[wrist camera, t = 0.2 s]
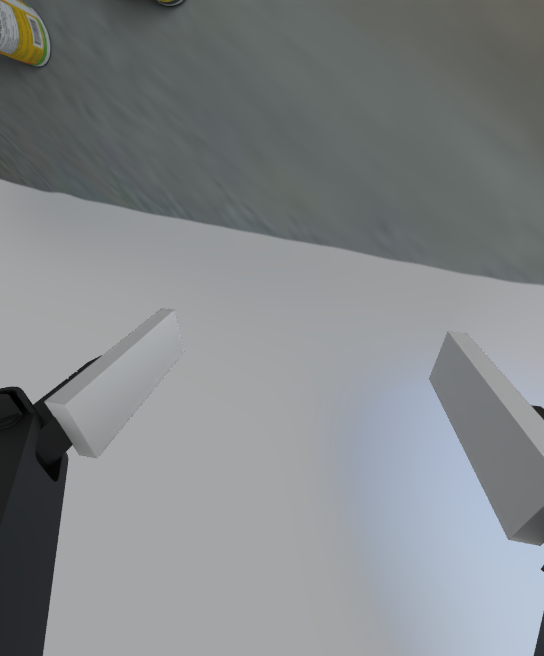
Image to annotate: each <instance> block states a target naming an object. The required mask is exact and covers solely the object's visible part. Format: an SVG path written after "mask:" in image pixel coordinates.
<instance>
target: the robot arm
mask: <svg viewBox="0 0 544 656" xmlns="http://www.w3.org/2000/svg"><path fill="white" fill-rule="evenodd" d="M183 353H184V348H183V344H182V340H181V336H180V331H179V326H178V322H177V318H176V314H175V310H172V309H160V310H159V311H158V312H157V313H155V314H154V315H153V316H151V317H150V318H149V319H148V320H146V321H145V322H144V323H143V324H142V325H140V326H139V327H138V328H136V329H135V330H134V331H133V332H131V333H130V334H129V335H128V336H126V337H125V338H124V339H123V340H121V341H120V342H119V343H118V344H116V345H115V346H114V347H112V348H111V349H110V350H109V351H108V352H106V353H105V354H104V355H102V356H99V357H98V358H95V359H93V360H92V361H90V362H88V363H86V364H85V365H84V366H83V367H81V368H80V369H79V370H78V371H77V372H75V373H74V374H72V375H71V376H70V377H69V379H66V380H65V381H63V382H62V383H61V384H59V385H58V386H57V387H56V388H54V389H53V390H52V391H50V392H49V393H48V394H46V395H45V396H44V397H43V398H41V399H40V400H39V401H38V402H36V403H35V404H34V405H33V404H32V403H31V402H30V400H29V399H28V397H27V396H26V394H25V393H24V391H23V390H22V389H21V388H19V387H6V388H1V389H0V656H43V649H44V642H45V634H46V626H47V619H48V611H49V603H50V595H51V588H52V581H53V573H54V565H55V558H56V550H57V543H58V535H59V527H60V519H61V511H62V504H63V497H64V489H65V482H66V474H67V466H68V455H67V453H66V451H67V450H68V449H69V448H70V447H71V446H72V445H73V446H74V448H75V449H76V451H77V452H78V454H79V455H82V456H87V457H92V458H98V457H99V456H100V455H101V453H102V452H103V451H104V450H105V449H106V447H107V446H108V445H109V444H110V442H111V441H112V440H113V439H114V438H115V436H116V435H117V434H118V433H119V431H120V430H121V429H122V428H123V426H124V425H125V424H126V423H127V422H128V420H129V419H130V418H131V417H132V416H133V414H134V413H135V412H136V411H137V409H138V408H139V407H140V406H141V405H142V403H143V402H144V401H145V400H146V398H147V397H148V396H149V395H150V394H151V392H152V391H153V390H154V388H155V387H156V386H157V385H158V384H159V383H160V381H161V380H162V379H163V378H164V376H165V375H166V374H167V373H168V371H169V370H170V369H171V368H172V367H173V365H174V364H175V363H176V362H177V361H178V359H179V358H180V357H181V356H182V354H183ZM429 379H430V382H431V384H432V386H433V388H434V390H435V392H436V394H437V396H438V398H439V400H440V402H441V404H442V406H443V408H444V410H445V412H446V414H447V416H448V418H449V420H450V422H451V424H452V426H453V428H454V430H455V432H456V434H457V437H458V439H459V441H460V443H461V445H462V447H463V449H464V451H465V453H466V455H467V457H468V459H469V461H470V463H471V465H472V467H473V469H474V471H475V473H476V475H477V477H478V479H479V481H480V483H481V485H482V487H483V489H484V491H485V493H486V495H487V497H488V499H489V501H490V503H491V505H492V507H493V509H494V512H495V514H496V516H497V518H498V519H499V522H500V524H501V526H502V528H503V530H504V532H505V534H506V536H507V538H508V540H513V541H518V542H523V543H529V544H533V545H539V546H541V545H542V544H543V543H544V409H543V408H542V407H540V406H531V405H530V404H529V403H528V402H527V400H526V399H525V398H524V397H523V396H522V395H521V394H520V393H519V391H518V390H517V389H516V388H515V387H514V386H513V384H512V383H511V382H510V381H509V380H508V379H507V378H506V376H505V375H504V374H503V373H502V372H501V371H500V370H499V369H498V367H497V366H496V365H495V364H494V363H493V362H492V361H491V359H490V358H489V357H488V356H487V355H486V354H485V353H484V352H483V350H482V349H481V348H480V347H479V346H478V345H477V344H476V342H475V341H474V340H473V339H472V338H471V337H470V336H469V334H468V333H463V332H450V331H448V332H447V335H446V337H445V340H444V342H443V345H442V347H441V350H440V352H439V355H438V358H437V360H436V363H435V365H434V368H433V370H432V372H431V375H430V378H429ZM541 570H542V571H543V572H544V565H543V567H542V568H541ZM534 656H544V613H543V617H542V622H541V627H540V631H539V635H538V639H537V644H536V648H535V653H534Z"/></svg>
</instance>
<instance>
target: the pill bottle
mask: <svg viewBox="0 0 544 656" xmlns="http://www.w3.org/2000/svg"><path fill="white" fill-rule="evenodd" d="M156 1H158V2H159V3H161V4H164V5H168V6H172V5H176V4H179V3H180V2H182V1H183V0H156Z"/></svg>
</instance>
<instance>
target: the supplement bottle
mask: <svg viewBox="0 0 544 656" xmlns="http://www.w3.org/2000/svg"><path fill="white" fill-rule="evenodd" d="M0 54H3V55H5V56H8V57H11V58H13V59H16V60H19V61H21V62H24V63H27V64H30V65H33V66H43V65H45V64H46V63H47V61H48V60H49V57H50V40H49V35H48V32H47V30H46V27H45V25H44V23H43V21H42V20H41V18H40V17H39V15H38V14H37V13H36V12H35V11H34V10H33V9H32V8H31V7H30V6H28V5H27V4H25V3H24V2H22V1H20V0H0Z"/></svg>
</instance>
